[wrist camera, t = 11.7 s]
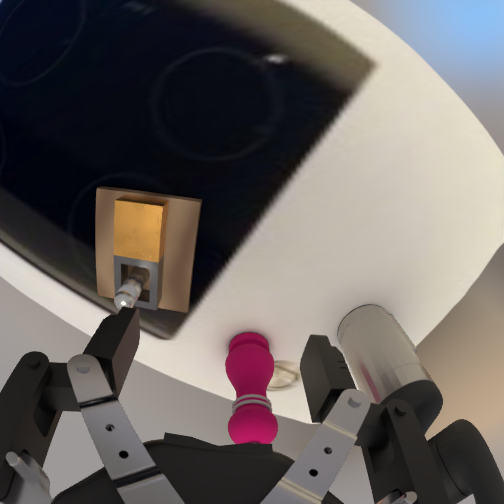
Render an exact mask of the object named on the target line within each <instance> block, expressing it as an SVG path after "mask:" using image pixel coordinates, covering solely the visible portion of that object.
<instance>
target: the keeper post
mask: <svg viewBox="0 0 504 504" xmlns="http://www.w3.org/2000/svg"><path fill="white" fill-rule="evenodd" d="M149 277H150V273H149V271H148V269H147V268H144V267H138V266H136V267H135V268H134V269H133V270H132V272H131V273H130V275H129V276H128V277H127V279H126V280H125V282H124V283H123V285H122V286H121V287H120V289H119V290H118V292H117V293H116V295H115V298H114V301H115V305H116V306H117V307H118V308H119V309H120V310H121V308H122V307H123V306H125V307H130V308H132V307H133V306H134V304H135V302H136V300H137V299H138V297H139V295H140V293H141V291H142V290H143V288H144V286H145V284H146V282H147V281H148V279H149Z"/></svg>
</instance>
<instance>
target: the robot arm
mask: <svg viewBox="0 0 504 504" xmlns="http://www.w3.org/2000/svg"><path fill="white" fill-rule="evenodd" d="M139 339H140V326H139V310H138V309H135V308H130V307H125V306H123V307H122V308H121V310H120V311H119V313H118V315H117V316H116V315H112V314H111V315H109V316H108V317H106V318H105V319H103V321H102V322H101V324H100V325H99V328H98V329H97V330H96V332H95V334H94V335H93V337H92V338H91V340H90V342H89V343H88V345H87V347H86V348H85V350H84V352H83V354H79V355H76V356H74V357H72V358H71V359H70V360H69V361H68V363H53V362H49V359H48V357H47V356H46V355H45V354H43V353H41V352H36V351H33V352H29V353H27V354H25V355H24V356H23V357H22V358H21V359H20V361H19V363H18V364H17V366H16V367H15V369H14V370H13V372H12V374H11V375H10V377H9V379H8V380H7V382H6V384H5V385H4V387H3V389H2V391H1V392H0V504H344V503H343V502H341V501H340V500H339V499H338V498H336V497H335V496H334V495H333V494H332V493H330V492H329V491H328V490H329V488H330V486H331V485H332V483H333V481H334V480H335V478H336V476H337V475H338V473H339V471H340V469H341V468H342V466H343V464H344V462H345V461H346V459H347V457H348V455H349V453H350V451H351V449H352V447H353V445H357V446H361V448H362V452H363V456H364V460H365V464H366V468H367V473H368V477H369V481H370V485H371V489H372V494H373V499H374V503H375V504H457V503H459V502H460V501H462V500H463V499H465V498H466V497H468V496H469V495H471V494H474V498H475V501H476V504H504V481H503V478H502V476H501V474H500V471H499V469H498V467H497V464H496V462H495V460H494V458H493V456H492V454H491V452H490V450H489V447H488V446H487V444H486V442H485V440H484V438H483V437H482V435H481V434H480V432H479V431H478V430H477V428H476V427H475V426H474V425H473V424H472V423H470V422H469V421H467V420H464V419H460V420H457V421H455V422H453V423H452V424H450V425H449V426H448V427H446V428H445V429H443V430H442V431H441V432H439V433H438V434H436V435H435V436H434V437H432V438H431V439H429V440H428V441H427V440H426V438H425V433H426V432H427V430H428V428H429V427H430V426H431V424H432V423H433V422H434V420H435V419H436V417H437V416H438V414H439V413H440V410H441V408H442V405H443V398H442V395H441V393H440V391H439V389H438V388H437V386H436V384H435V383H434V381H433V380H432V378H431V377H430V375H429V374H428V372H427V370H426V369H425V368H424V366H423V364H422V363H421V361H420V360H419V358H418V357H417V355H416V352H417V349H416V347H415V346H414V344H413V343H412V341H411V340H410V339H409V337H408V336H407V334H406V333H405V331H404V330H403V329H402V327H401V326H400V324H399V323H398V322H397V320H396V319H395V318H394V316H393V315H390V314H388V313H387V312H386V311H385V310H384V309H383V308H382V307H380V306H377V305H366V306H362V307H359V308H357V309H355V310H354V311H352V312H351V313H349V314H348V315H347V316H346V317H345V318H344V320H343V321H342V322H341V324H340V326H339V329H338V339H339V342H340V344H341V347H342V349H343V351H344V354H345V356H346V359H347V361H348V363H349V366H350V368H351V371H352V373H353V375H354V378H355V380H356V383H357V385H358V388H359V390H360V391H359V390H357V389H356V386H355V384H354V381H353V379H352V376H351V374H350V371H349V369H348V367H347V364H346V363H345V359H344V357H343V354H342V353H341V352H340V351H339V350H338V349H337V348H336V347H334V346H331V345H330V342H329V339H328V337H327V336H324V335H310V337H309V339H308V342H307V344H306V347H305V350H304V352H303V355H302V358H301V362H300V371H301V376H302V380H303V384H304V389H305V393H306V397H307V402H308V406H309V411H310V415H311V419H312V423H321V426H320V427H319V429H318V430H317V432H316V433H315V435H314V436H313V438H312V439H311V440H310V442H309V443H308V445H307V446H306V447H305V449H304V450H303V451H302V453H301V454H300V456H299V457H298V458H297V460H296V461H294V460H293V459H291V458H289V457H287V456H286V455H283V454H281V453H278V452H275V451H273V450H272V444H261V443H240V444H233V445H224V446H217V445H213V444H211V443H208V442H205V441H202V440H199V439H196V438H193V437H189V436H183V435H177V434H171V433H166V432H165V435H164V439H159V440H151V441H147V442H144V443H142V442H141V440H140V439H139V437H138V435H137V434H136V432H135V430H134V428H133V426H132V425H131V423H130V421H129V419H128V417H127V415H126V414H125V411H124V410H123V407H122V406H121V404H120V402H119V400H118V397H119V395H120V392H121V389H122V387H123V384H124V381H125V379H126V376H127V374H128V371H129V368H130V366H131V363H132V361H133V358H134V356H135V353H136V351H137V348H138V345H139ZM63 411H78V412H79V411H80V412H81V413H82V415H83V418H84V421H85V423H86V426H87V428H88V431H89V433H90V435H91V438H92V440H93V442H94V445H95V447H96V449H97V451H98V453H99V456H100V458H101V460H102V462H103V464H104V467H103V468H101V469H100V470H98V471H97V472H95V473H93V474H91V475H90V476H88V477H87V478H85V479H83V480H82V481H80V482H78V483H76V484H75V485H73V486H71V487H69V488H68V489H66V490H64V491H62V492H61V493H59V494H58V495H57V496H56V497H55V498H54V499H52V498H51V496H50V491H49V489H50V481H49V478H48V476H47V475H46V473H45V472H44V471H43V469H42V468H43V464H44V461H45V458H46V455H47V452H48V449H49V446H50V443H51V441H52V438H53V435H54V432H55V430H56V427H57V424H58V422H59V419H60V417H61V414H62V412H63Z"/></svg>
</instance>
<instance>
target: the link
mask: <svg viewBox="0 0 504 504" xmlns="http://www.w3.org/2000/svg"><path fill="white" fill-rule="evenodd" d="M168 204H169V201H167V200H159V199H152V198H145V197H137V196H129V195H123V196H121V197H120V198H118V199H116V200H115V213H114V287H115V295H116V293H117V292H118V290H119V289H120V287H121V286H122V285H123V283H124V282H125V280H126V279H127V277H128V265H132V266H138V267H144V268H149V269H150V290H144V289H143V290H142V291H141V293H140V295H139V297H138V299H137V300H136V302H135V304H134V306H137V307H142V308H147V309H152V310H157V308H158V306H159V304H160V301H161V299H162V279H163V262H164V248H165V235H166V224H167V213H168Z"/></svg>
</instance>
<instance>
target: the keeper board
mask: <svg viewBox="0 0 504 504" xmlns="http://www.w3.org/2000/svg"><path fill="white" fill-rule="evenodd" d="M123 195H129V196H137V197H145V198H152V199H159V200H167V201H169V204H168V213H167V224H166V235H165V248H164V262H163V279H162V299H161V301H160V304H159V306H158V308H163V309H169V310H175V311H180V312H186V313H188V309H189V303H190V293H191V283H192V274H193V265H194V257H195V248H196V240H197V233H198V225H199V218H200V211H201V204H202V200H201V199H194V198H187V197H181V196H174V195H167V194H159V193H152V192H144V191H137V190H129V189H121V188H112V187H104V186H101V187H99V188H97V194H96V271H97V288H98V295H99V296H104V297H108V298H113V299H114V298H115V287H114V213H115V200H116V199H118V198H120V197H121V196H123ZM135 267H136V266H132V265H128V276H129V275H130V273H131V272H132V270H133V269H134V268H135ZM147 269H148V271H149V273H150V269H149V268H147ZM143 289H144V290H150V277H149V279H148V281H147V282H146V284H145V286H144V288H143Z"/></svg>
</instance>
